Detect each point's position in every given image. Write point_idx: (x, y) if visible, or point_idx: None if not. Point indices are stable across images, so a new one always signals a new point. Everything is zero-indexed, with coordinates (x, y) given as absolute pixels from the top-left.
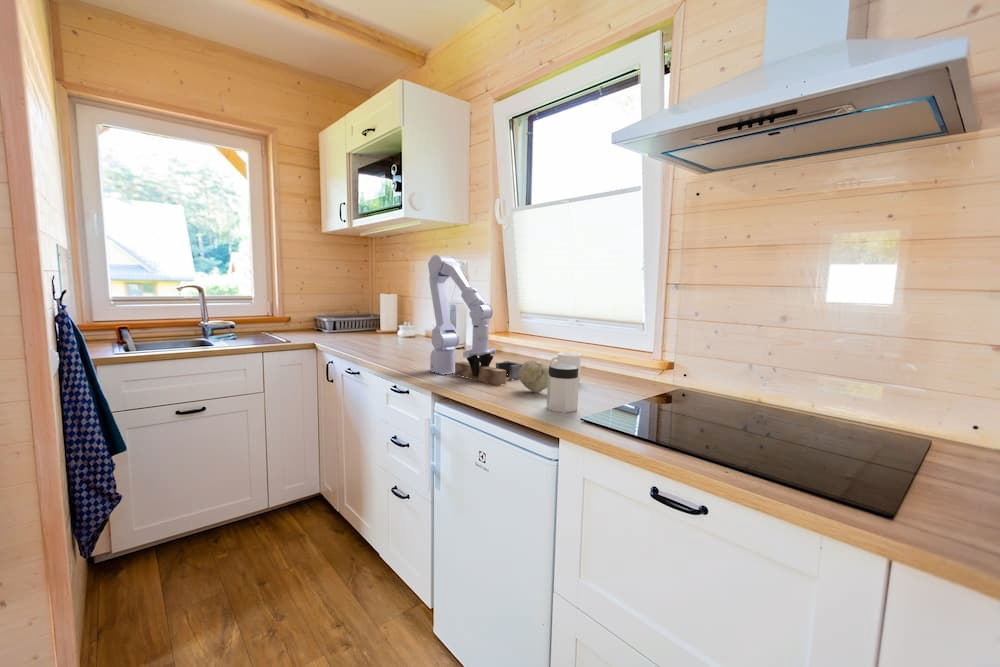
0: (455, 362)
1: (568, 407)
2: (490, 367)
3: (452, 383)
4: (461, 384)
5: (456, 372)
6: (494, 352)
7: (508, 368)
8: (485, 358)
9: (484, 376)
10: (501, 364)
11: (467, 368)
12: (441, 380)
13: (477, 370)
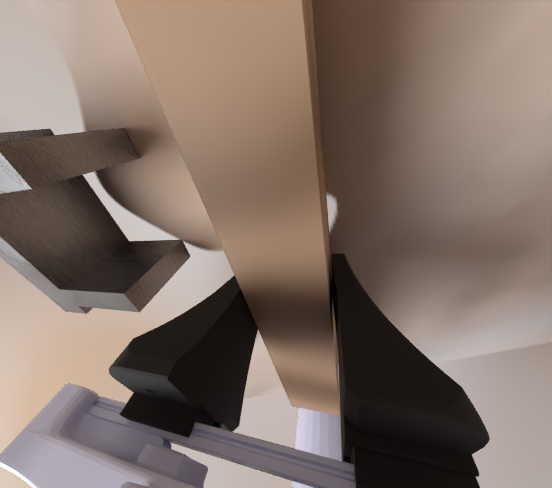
0: (339, 415)
1: None
2: (235, 243)
3: (533, 268)
4: (529, 216)
5: (337, 357)
6: (65, 410)
7: (93, 258)
8: (215, 371)
9: (325, 201)
10: (111, 285)
11: (335, 348)
12: (484, 335)
13: (350, 280)
